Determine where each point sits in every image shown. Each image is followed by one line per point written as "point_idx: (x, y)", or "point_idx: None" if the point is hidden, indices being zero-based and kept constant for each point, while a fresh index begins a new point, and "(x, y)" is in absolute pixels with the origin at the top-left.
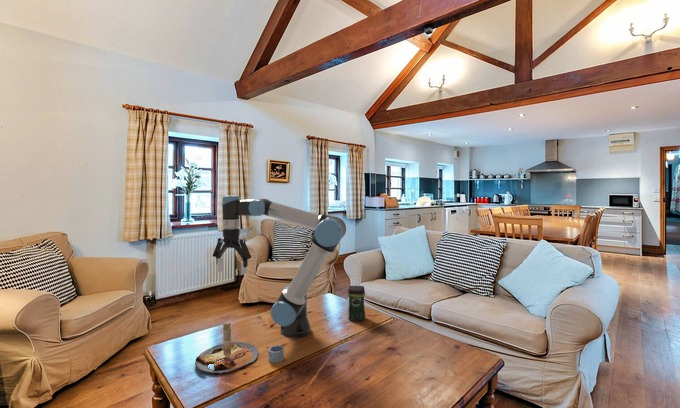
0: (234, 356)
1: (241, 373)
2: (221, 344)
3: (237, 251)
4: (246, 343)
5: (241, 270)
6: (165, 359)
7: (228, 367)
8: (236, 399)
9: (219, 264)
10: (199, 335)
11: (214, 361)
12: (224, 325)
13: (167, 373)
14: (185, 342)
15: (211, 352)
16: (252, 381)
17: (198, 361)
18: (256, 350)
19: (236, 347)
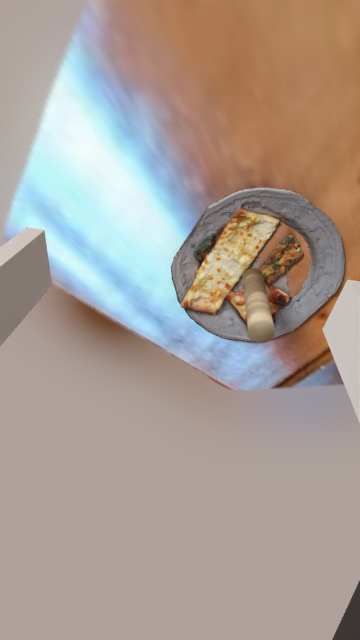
0: (270, 265)
1: (313, 317)
2: (200, 218)
3: (348, 632)
4: (283, 194)
5: (333, 356)
6: (94, 291)
7: (276, 311)
8: (329, 379)
9: (8, 322)
10: (65, 142)
11: (227, 294)
12: (257, 341)
13: (146, 333)
14: (64, 202)
15: (193, 258)
16: None
17: (192, 310)
18: (333, 232)
19: (257, 222)
